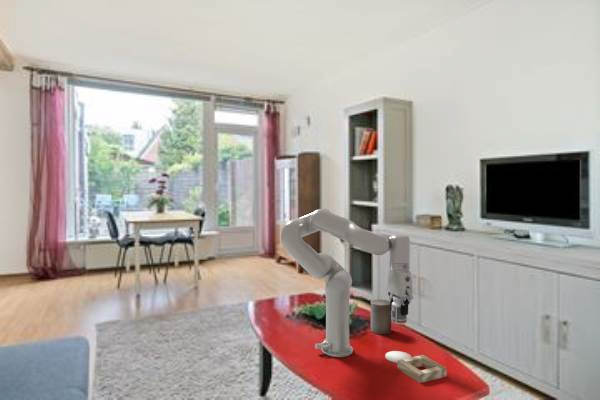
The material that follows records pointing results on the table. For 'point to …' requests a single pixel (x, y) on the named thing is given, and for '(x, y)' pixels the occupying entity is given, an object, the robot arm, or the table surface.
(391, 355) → the felt mat
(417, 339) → the table surface
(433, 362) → the socket block
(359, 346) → the table surface
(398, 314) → the pill bottle
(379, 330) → the pillar candle
